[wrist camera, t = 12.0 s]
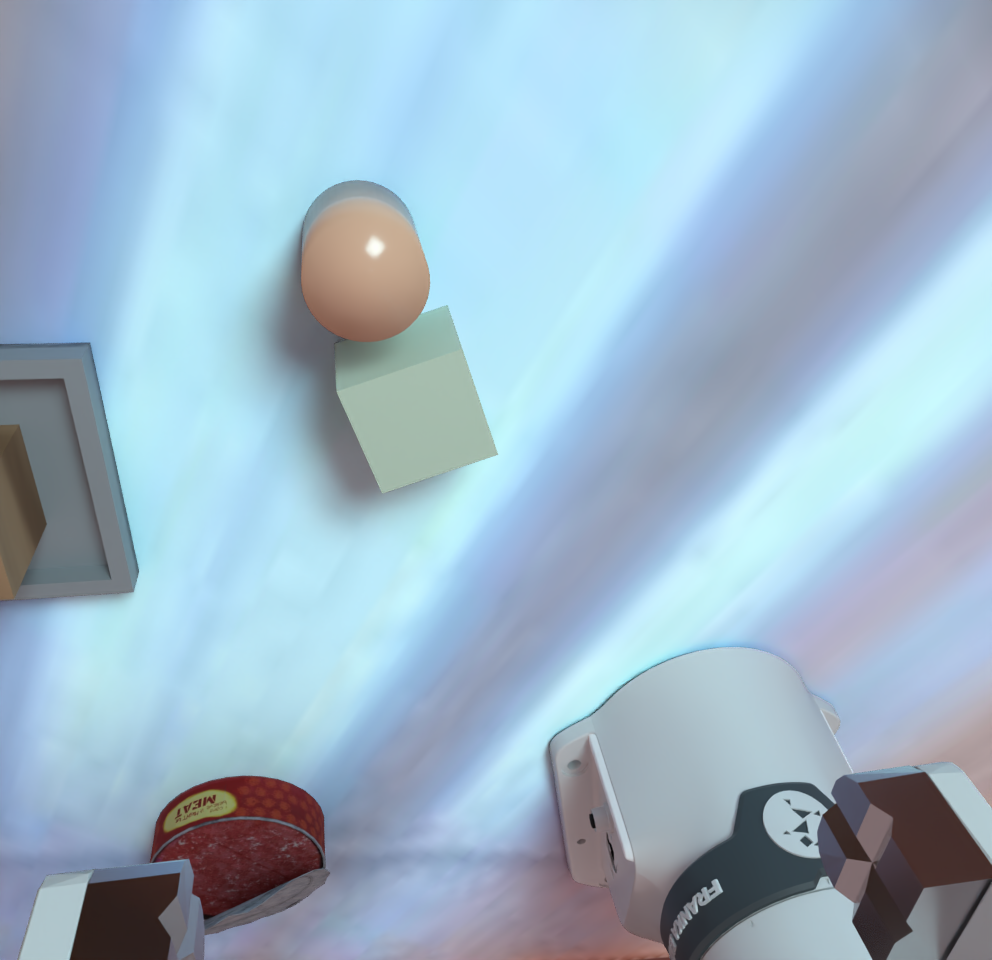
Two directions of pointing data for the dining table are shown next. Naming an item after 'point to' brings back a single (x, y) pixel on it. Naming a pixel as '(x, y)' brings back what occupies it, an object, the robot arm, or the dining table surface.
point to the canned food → (244, 846)
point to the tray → (68, 471)
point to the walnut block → (17, 511)
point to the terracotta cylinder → (362, 262)
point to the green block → (413, 402)
